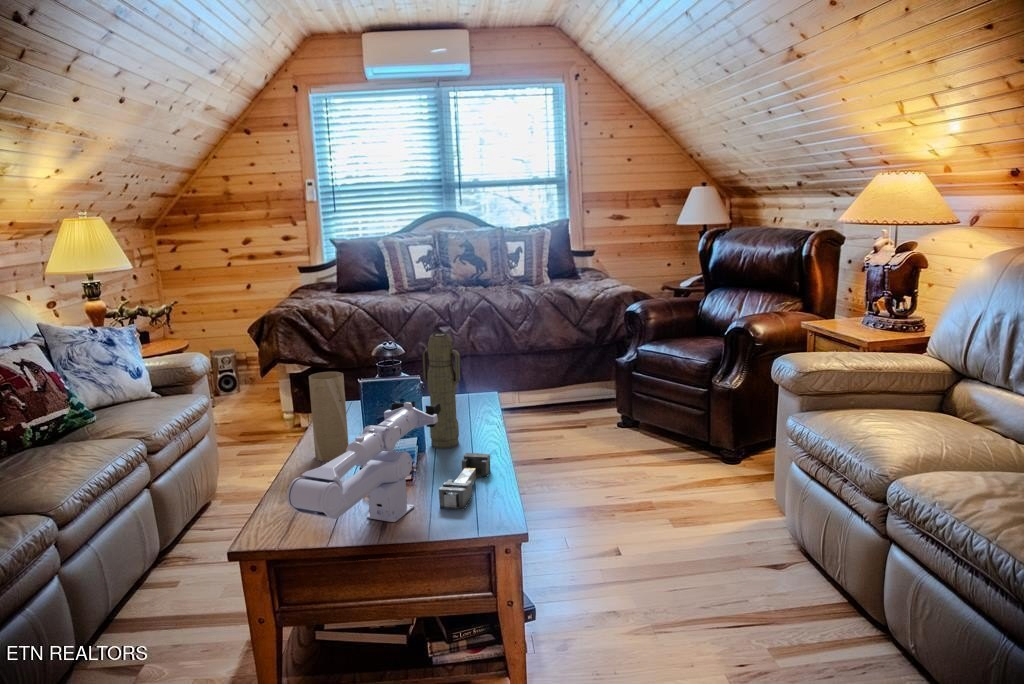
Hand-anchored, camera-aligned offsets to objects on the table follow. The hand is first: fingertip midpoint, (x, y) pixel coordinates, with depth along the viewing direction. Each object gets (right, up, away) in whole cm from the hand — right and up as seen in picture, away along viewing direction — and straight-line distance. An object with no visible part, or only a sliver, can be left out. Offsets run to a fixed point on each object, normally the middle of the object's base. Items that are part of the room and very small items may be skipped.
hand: (426, 405), depth 188 cm
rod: (+9, -22, -5) cm, 24 cm away
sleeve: (+9, -24, -9) cm, 27 cm away
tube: (-32, -18, +28) cm, 46 cm away
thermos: (+2, -15, +35) cm, 39 cm away
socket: (+13, -20, +10) cm, 25 cm away
